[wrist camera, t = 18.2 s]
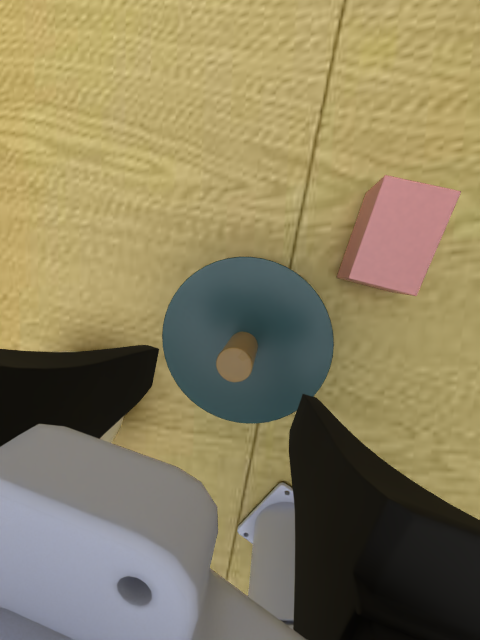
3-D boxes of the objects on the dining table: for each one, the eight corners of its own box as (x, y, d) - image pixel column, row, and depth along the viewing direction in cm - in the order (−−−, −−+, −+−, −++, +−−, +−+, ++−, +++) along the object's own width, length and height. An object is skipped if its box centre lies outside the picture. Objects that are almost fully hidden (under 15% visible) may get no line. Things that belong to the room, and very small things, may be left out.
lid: (368, 325, 17) (404, 345, 12) (263, 444, 21) (259, 498, 16) (223, 222, 18) (202, 202, 13) (141, 355, 21) (99, 381, 16)
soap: (427, 206, 18) (461, 190, 14) (392, 292, 19) (416, 296, 16) (365, 192, 18) (385, 174, 15) (336, 277, 19) (348, 278, 16)
